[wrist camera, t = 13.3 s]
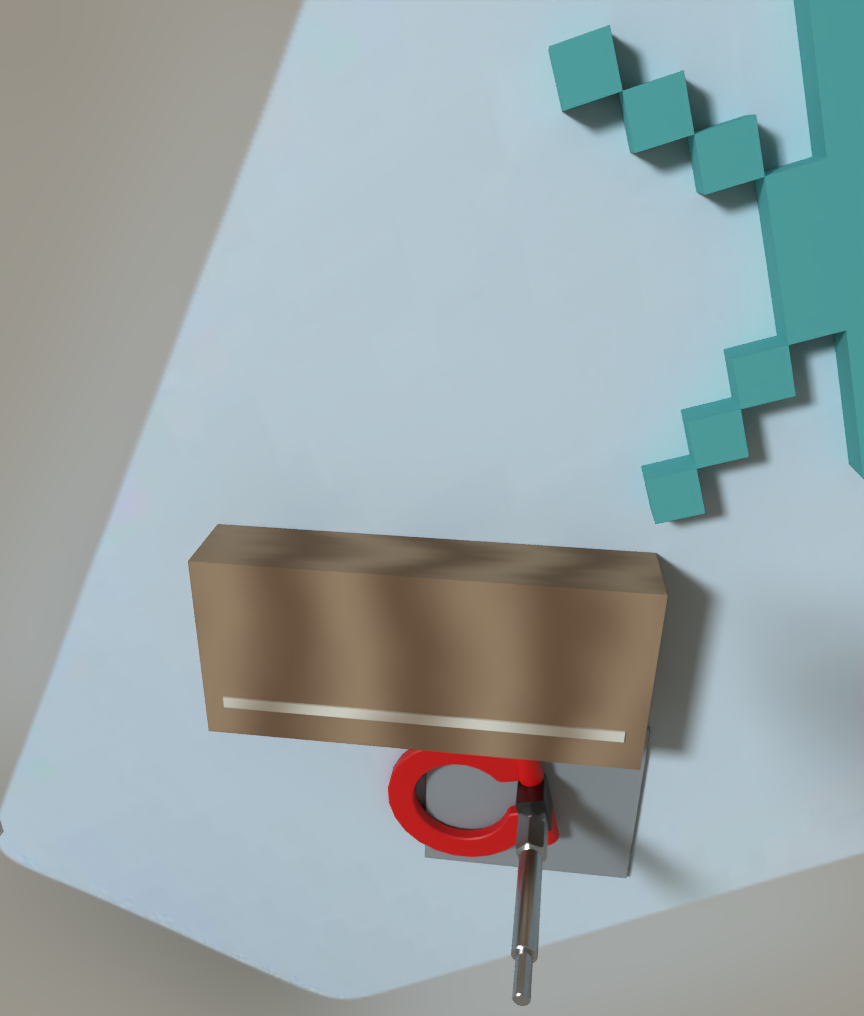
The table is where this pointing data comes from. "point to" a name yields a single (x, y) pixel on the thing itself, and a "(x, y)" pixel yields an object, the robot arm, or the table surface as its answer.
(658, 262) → the table surface
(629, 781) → the mat
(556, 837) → the tow hook
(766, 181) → the alien figure
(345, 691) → the walnut board
